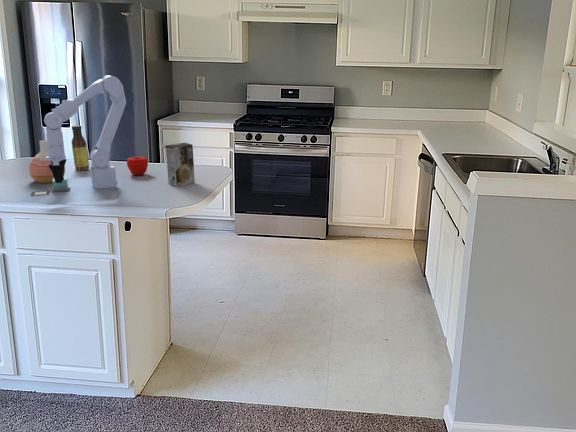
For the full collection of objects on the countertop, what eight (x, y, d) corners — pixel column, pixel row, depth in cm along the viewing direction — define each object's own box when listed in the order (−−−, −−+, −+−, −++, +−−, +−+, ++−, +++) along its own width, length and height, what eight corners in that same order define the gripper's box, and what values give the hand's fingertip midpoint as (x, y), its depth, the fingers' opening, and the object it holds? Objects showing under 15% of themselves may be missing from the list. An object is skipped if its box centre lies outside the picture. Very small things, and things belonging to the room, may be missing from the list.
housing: (68, 188, 219) (67, 176, 218) (67, 191, 215) (66, 179, 213) (54, 188, 218) (53, 177, 216) (53, 192, 213) (52, 180, 212)
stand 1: (51, 193, 216) (50, 190, 215) (49, 197, 210) (49, 194, 209) (32, 194, 214) (32, 191, 213) (30, 199, 208) (30, 195, 207)
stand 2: (71, 190, 220) (70, 187, 220) (70, 194, 214) (69, 191, 214) (53, 191, 219) (52, 188, 218) (51, 195, 213) (51, 192, 212)
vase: (73, 181, 236) (68, 139, 231) (52, 188, 223) (46, 144, 218) (45, 179, 239) (40, 137, 234) (23, 186, 227) (17, 142, 222)
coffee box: (186, 180, 237) (184, 142, 232) (195, 183, 232) (193, 144, 228) (167, 184, 231) (165, 144, 226) (176, 186, 226) (174, 146, 222)
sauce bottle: (92, 169, 258) (87, 125, 253) (81, 171, 253) (76, 127, 248) (83, 167, 262) (78, 124, 256) (71, 169, 257) (66, 126, 251)
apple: (133, 178, 241) (132, 160, 239) (124, 174, 247) (122, 157, 245) (152, 175, 247) (151, 157, 244) (143, 171, 253) (141, 154, 251)
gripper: (46, 142, 217) (50, 177, 221) (42, 148, 203) (46, 185, 207) (65, 141, 219) (69, 176, 223) (63, 147, 205) (67, 184, 209)
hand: (59, 180), depth 215 cm, fingers open, 7 cm apart
